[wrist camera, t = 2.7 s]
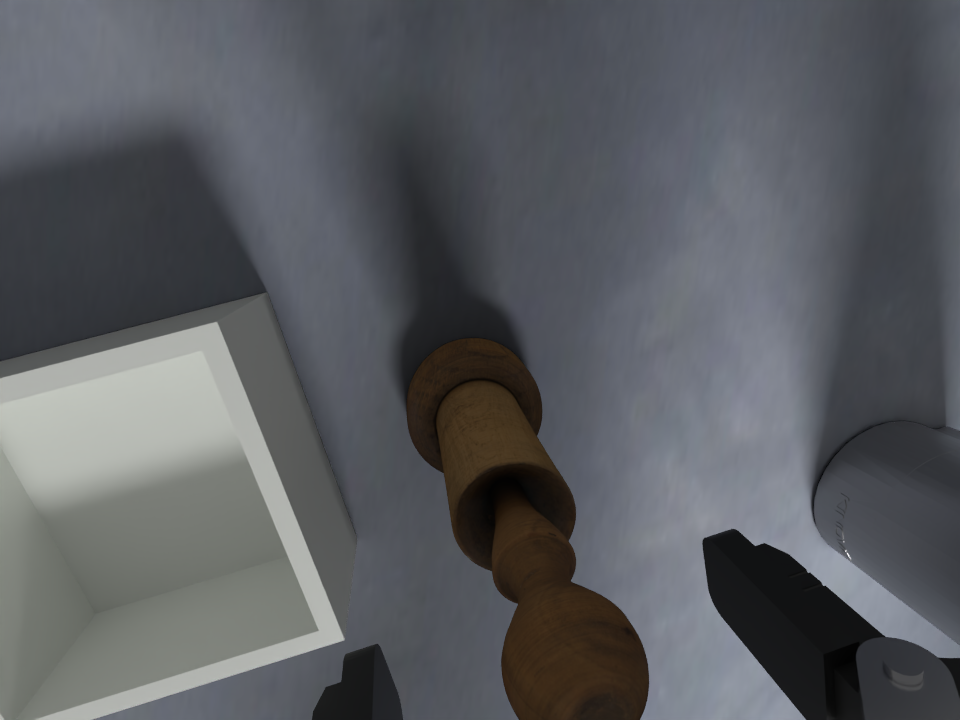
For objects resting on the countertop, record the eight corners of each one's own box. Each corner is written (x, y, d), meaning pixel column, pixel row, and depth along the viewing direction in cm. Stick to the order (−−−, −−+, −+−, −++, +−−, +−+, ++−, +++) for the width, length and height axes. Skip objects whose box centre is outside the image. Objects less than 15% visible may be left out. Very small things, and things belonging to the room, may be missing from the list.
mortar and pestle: (404, 338, 26) (419, 589, 8) (534, 335, 27) (786, 556, 9) (407, 463, 27) (425, 882, 10) (529, 456, 28) (734, 829, 11)
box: (267, 292, 24) (217, 321, 17) (357, 538, 28) (344, 639, 21) (-42, 372, 23) (-223, 436, 16) (97, 616, 27) (-2, 748, 20)
